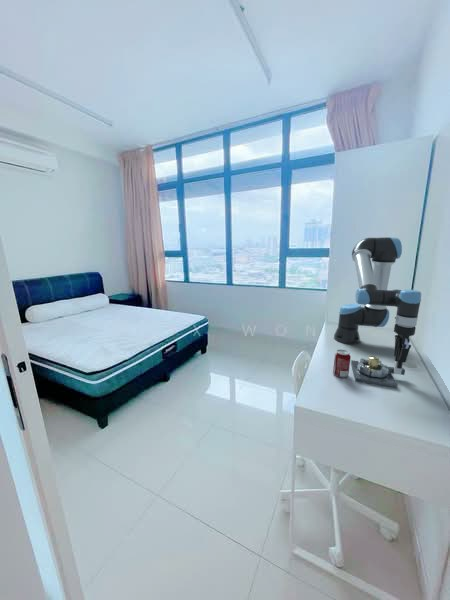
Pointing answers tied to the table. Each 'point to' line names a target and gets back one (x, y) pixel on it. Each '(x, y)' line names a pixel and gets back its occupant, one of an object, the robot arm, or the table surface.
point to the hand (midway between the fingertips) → (397, 373)
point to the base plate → (364, 378)
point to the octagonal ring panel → (382, 372)
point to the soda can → (341, 363)
